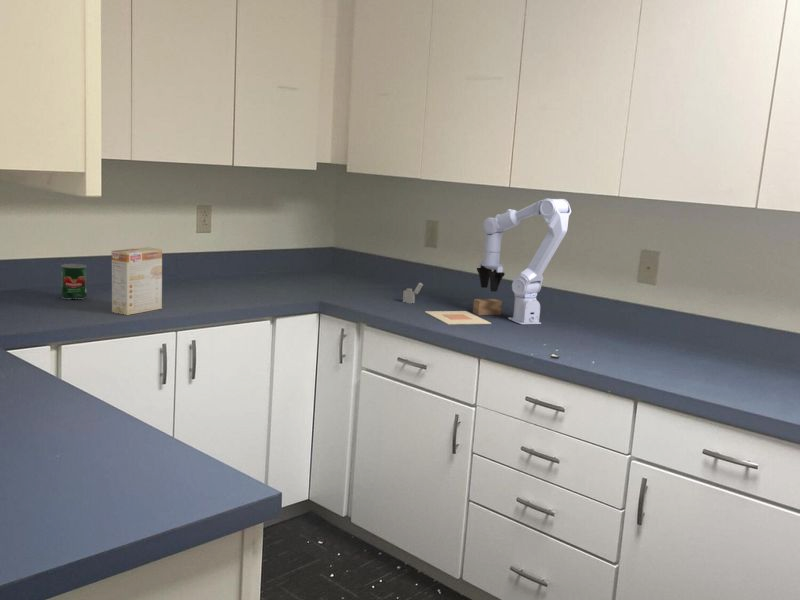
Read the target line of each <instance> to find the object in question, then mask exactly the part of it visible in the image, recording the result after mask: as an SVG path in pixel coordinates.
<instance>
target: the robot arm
mask: <svg viewBox="0 0 800 600" xmlns="http://www.w3.org/2000/svg"><path fill="white" fill-rule="evenodd" d="M505 211H506V212H504V213H502V214H499V213H498V214H496V215H495V216H494V217H492V216H491V217H487V218H486V219H485V220H484V221H483V223H482V228H483V231H484V232H485V237H484V247H483V249H484V250H483V260H479V266H478V267H476V271H477V273H478V276H479V282H480V287H481V288H483V289H484V288H488V286H489V287H490V292H492V293H493V292H498V290H499V286H500V284H501V282H502V279H503V278H504V276H505V275H506V273H505V272H504V267H503V264H502V263H500V259H501V258H500V257H501V247H502V238H503V234H504V233H505V231H507V230H510V229H512V228H515V227H517V226H519V225H520V224H521V222H522V221H523V220H525V219H528V218H530V217H534V216H537V215H541V217H542V218H543V220H544V222H545V223H546V225H547V226H548V231H547V233H546V234H545V236H544V238H543V239H542V241H541V243H540V245H539V246H538V249H537V251H536V252H535V254H534V255H533V257H532V259H531V261H530V262H529V264H528V266H527V267H526V269H524V270H523V271H521V272H520V273H519V275H518V277H517V276H516V278H514V279H513V280H512V284H511V290H512V293H514V304H513V315H512V317H507V319H508V320H510V321H512V322H514V323H518V324H519V325H542V322H540V315H541V304H540V302H539V301H538V300H537V296H538V293H540V291H541V289H542V283H543V281H544V276H543V273H544V272H545V270H546V269H547V266H548V265H549V263H550V262H551V259H552V258H553V256H554V255H555V253H556V251H557V249H558V248H559V246H560V244H561V242H562V241H563V239H564V238H565V236H566V234H567V231H568V228H569V227H568V225H569V217H570V215H571V213H572V209H571V206H570V203H569V202H568V200H567V199H565V198H544V199H542V200H538V201H536V202H534V203H531V205H530V204H529V205H528V206H526V207H523V208H521V209H520V210H516V209H511V208H509V209H506V210H505ZM489 281H490V282H489ZM489 283H490V285H489Z"/></svg>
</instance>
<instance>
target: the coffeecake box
mask: <svg viewBox="0 0 800 600" xmlns="http://www.w3.org/2000/svg"><path fill="white" fill-rule="evenodd" d="M162 309H163V249H161V248H154V247H151V246H150V247H149V246H147V247H145V246H144V247H137V248H129V249H127V248H126V249H118V250H111V313H113V312H114V313H113V314H118V313H119V315H123V314H124V316H130V315H135V314H139V313H145V312H151V311H157V310H162Z"/></svg>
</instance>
